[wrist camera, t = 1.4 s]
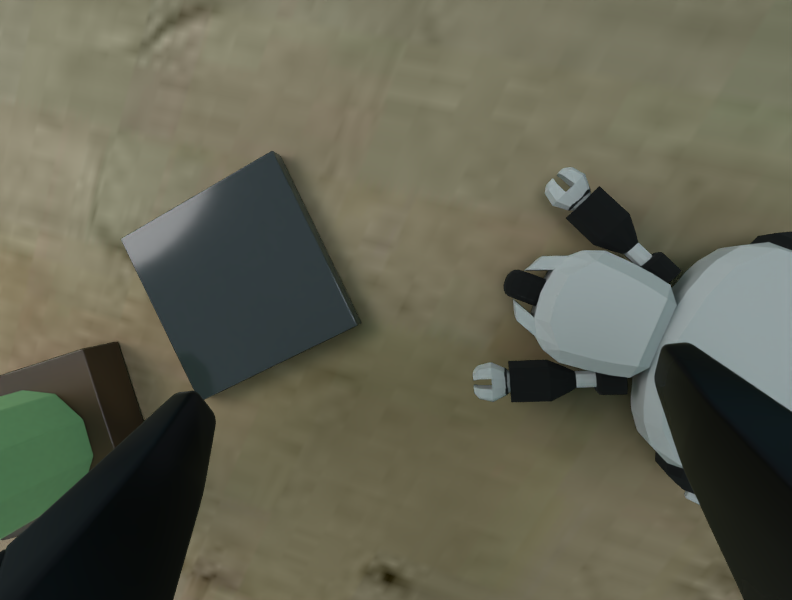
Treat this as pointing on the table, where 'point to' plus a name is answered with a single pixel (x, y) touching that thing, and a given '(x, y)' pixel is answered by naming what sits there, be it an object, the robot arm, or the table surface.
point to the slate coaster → (240, 277)
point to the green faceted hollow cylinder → (38, 455)
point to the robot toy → (645, 316)
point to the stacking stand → (85, 395)
